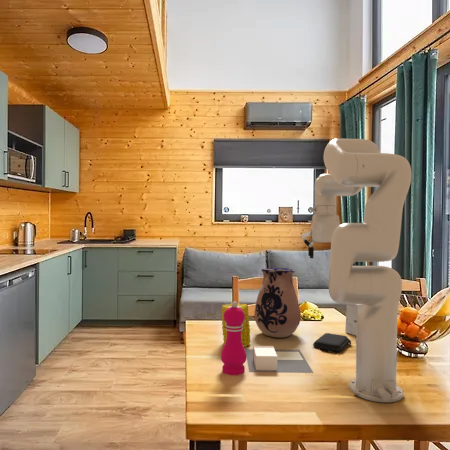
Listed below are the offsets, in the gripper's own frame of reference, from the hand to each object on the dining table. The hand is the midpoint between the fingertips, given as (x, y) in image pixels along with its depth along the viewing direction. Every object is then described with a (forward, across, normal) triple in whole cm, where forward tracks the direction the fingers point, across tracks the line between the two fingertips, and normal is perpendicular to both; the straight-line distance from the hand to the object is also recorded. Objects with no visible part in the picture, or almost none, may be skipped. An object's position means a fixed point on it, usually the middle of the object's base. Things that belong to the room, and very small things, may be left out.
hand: (324, 258), depth 140 cm
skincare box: (+30, +15, +10) cm, 35 cm away
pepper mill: (+30, -33, -32) cm, 55 cm away
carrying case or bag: (+31, +2, -6) cm, 31 cm away
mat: (+30, -20, -22) cm, 42 cm away
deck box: (+29, -24, -26) cm, 46 cm away
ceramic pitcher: (+30, -15, +9) cm, 35 cm away
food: (+30, -32, -7) cm, 45 cm away
